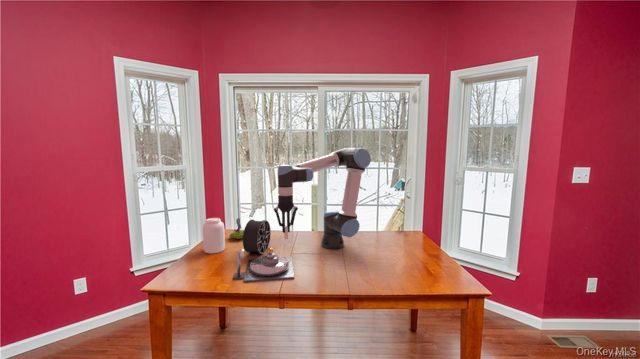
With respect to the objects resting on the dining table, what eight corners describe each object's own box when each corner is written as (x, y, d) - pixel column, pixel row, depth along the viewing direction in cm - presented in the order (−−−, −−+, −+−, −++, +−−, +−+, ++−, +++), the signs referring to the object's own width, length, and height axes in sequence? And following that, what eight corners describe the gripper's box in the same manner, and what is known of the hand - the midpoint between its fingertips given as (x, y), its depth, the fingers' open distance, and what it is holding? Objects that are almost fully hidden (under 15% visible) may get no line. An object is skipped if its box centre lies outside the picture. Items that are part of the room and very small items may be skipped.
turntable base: (291, 258, 155) (291, 256, 155) (294, 278, 132) (293, 276, 132) (248, 261, 152) (248, 259, 151) (243, 282, 128) (243, 279, 128)
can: (207, 255, 159) (206, 223, 156) (200, 249, 168) (199, 218, 166) (228, 250, 167) (227, 219, 165) (220, 244, 176) (219, 215, 174)
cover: (278, 259, 146) (278, 250, 145) (278, 265, 138) (278, 256, 137) (263, 260, 145) (263, 251, 144) (262, 266, 137) (262, 257, 136)
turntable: (288, 257, 153) (288, 246, 152) (289, 274, 133) (289, 261, 132) (252, 260, 150) (251, 248, 149) (248, 277, 130) (248, 263, 129)
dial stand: (245, 273, 136) (244, 248, 135) (243, 278, 131) (242, 252, 130) (234, 274, 136) (233, 248, 134) (233, 279, 131) (232, 252, 129)
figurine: (231, 235, 195) (230, 215, 193) (249, 234, 197) (248, 214, 195) (227, 242, 182) (226, 220, 180) (246, 241, 183) (245, 220, 181)
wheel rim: (257, 259, 154) (256, 225, 152) (243, 257, 156) (242, 224, 154) (270, 246, 174) (270, 216, 171) (257, 245, 176) (257, 215, 173)
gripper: (296, 192, 145) (297, 234, 148) (272, 194, 141) (273, 237, 144) (299, 195, 138) (299, 239, 141) (273, 196, 134) (274, 241, 137)
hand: (286, 238), depth 143 cm, fingers closed
